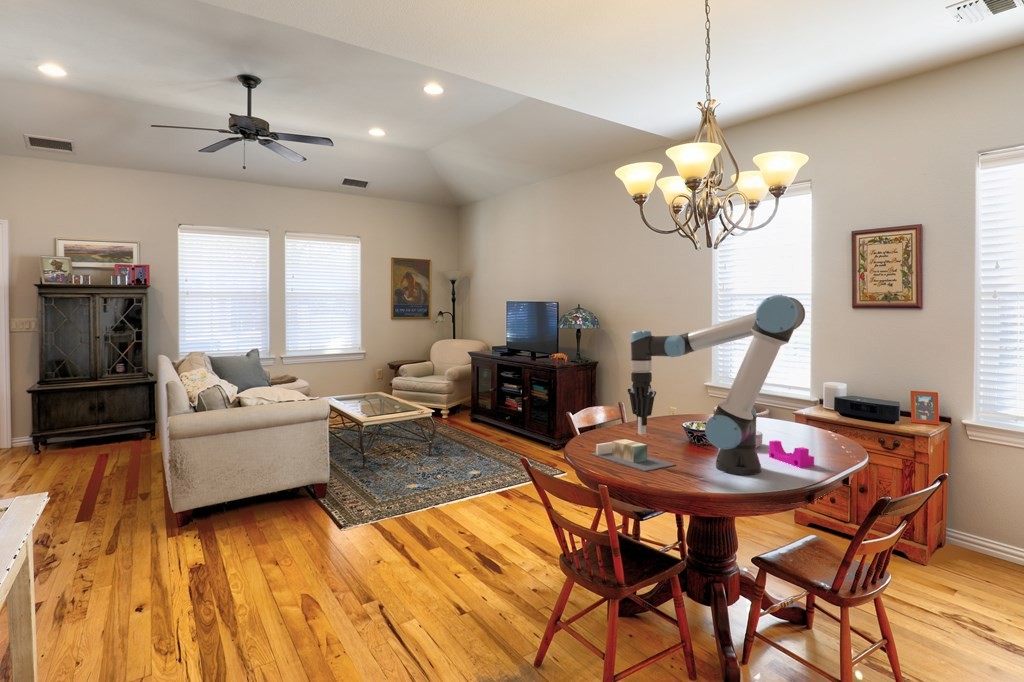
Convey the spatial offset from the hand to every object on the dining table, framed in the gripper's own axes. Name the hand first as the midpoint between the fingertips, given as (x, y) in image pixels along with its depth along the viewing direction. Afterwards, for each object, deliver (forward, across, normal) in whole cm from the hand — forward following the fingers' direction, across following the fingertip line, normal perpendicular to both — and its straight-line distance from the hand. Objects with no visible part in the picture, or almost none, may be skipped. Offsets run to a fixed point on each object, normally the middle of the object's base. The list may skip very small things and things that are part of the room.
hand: (641, 433), depth 200 cm
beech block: (+8, 0, 0) cm, 8 cm away
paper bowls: (+12, -6, -51) cm, 53 cm away
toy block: (+12, -30, -47) cm, 57 cm away
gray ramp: (+11, +6, 0) cm, 12 cm away
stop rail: (+10, +18, 0) cm, 20 cm away
